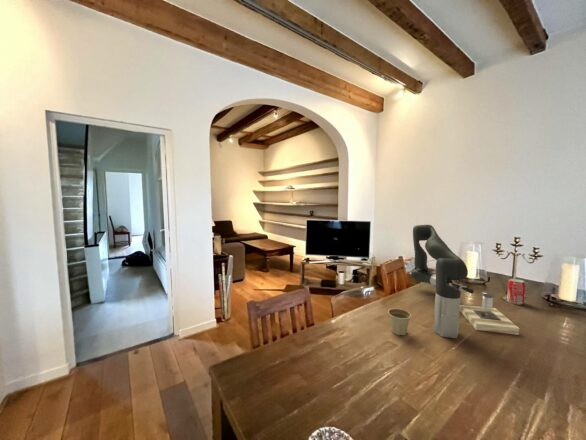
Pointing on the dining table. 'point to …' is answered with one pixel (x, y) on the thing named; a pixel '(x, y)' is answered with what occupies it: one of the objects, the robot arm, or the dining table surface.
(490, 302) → the slim silver can
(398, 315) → the flower pot
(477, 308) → the block
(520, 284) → the soda can
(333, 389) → the dining table surface
